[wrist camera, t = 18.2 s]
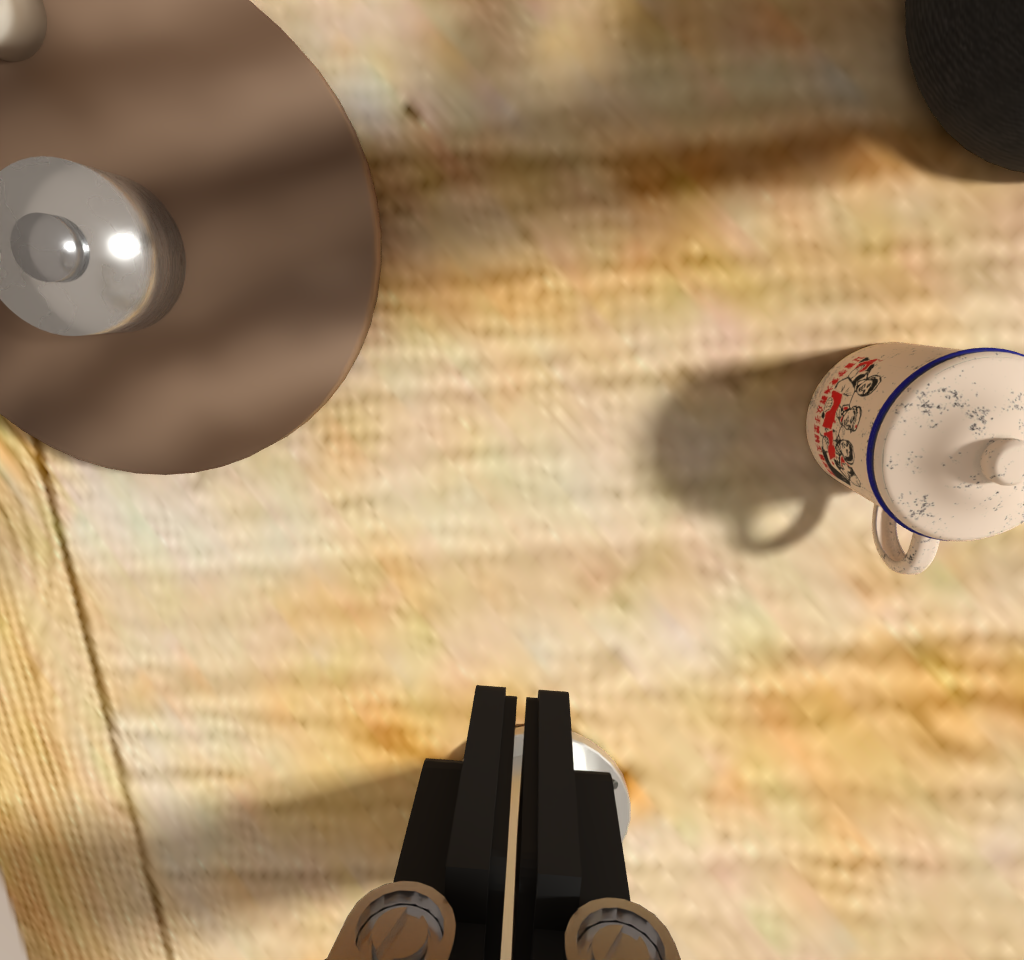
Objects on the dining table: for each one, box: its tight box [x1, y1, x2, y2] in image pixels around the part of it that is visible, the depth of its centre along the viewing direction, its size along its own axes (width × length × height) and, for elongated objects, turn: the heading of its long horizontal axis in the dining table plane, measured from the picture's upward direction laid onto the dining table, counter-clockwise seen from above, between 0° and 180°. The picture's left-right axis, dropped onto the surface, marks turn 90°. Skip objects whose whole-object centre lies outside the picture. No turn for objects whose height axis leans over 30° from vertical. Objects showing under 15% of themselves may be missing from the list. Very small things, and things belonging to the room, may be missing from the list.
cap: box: [0, 156, 186, 336], centre depth 33 cm, size 8×8×5 cm
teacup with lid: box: [806, 342, 1024, 574], centre depth 34 cm, size 12×9×12 cm
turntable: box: [0, 0, 381, 475], centre depth 34 cm, size 26×26×6 cm
